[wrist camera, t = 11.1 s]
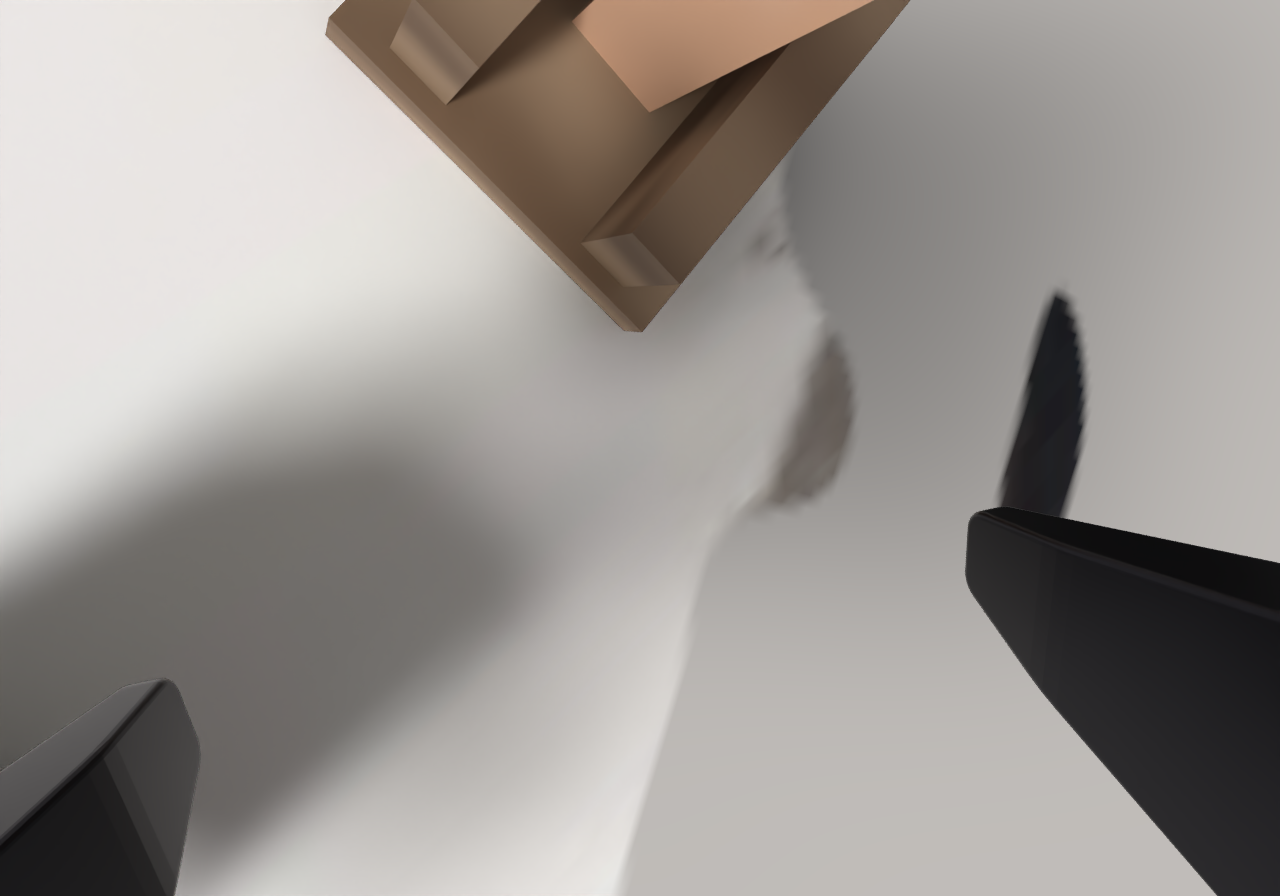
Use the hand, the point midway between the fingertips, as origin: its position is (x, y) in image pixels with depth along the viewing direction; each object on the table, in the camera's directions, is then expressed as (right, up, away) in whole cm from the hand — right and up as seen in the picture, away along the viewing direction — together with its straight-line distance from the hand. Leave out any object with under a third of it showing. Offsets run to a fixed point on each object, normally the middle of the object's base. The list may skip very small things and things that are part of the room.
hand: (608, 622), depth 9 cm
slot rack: (0, +13, +12) cm, 18 cm away
